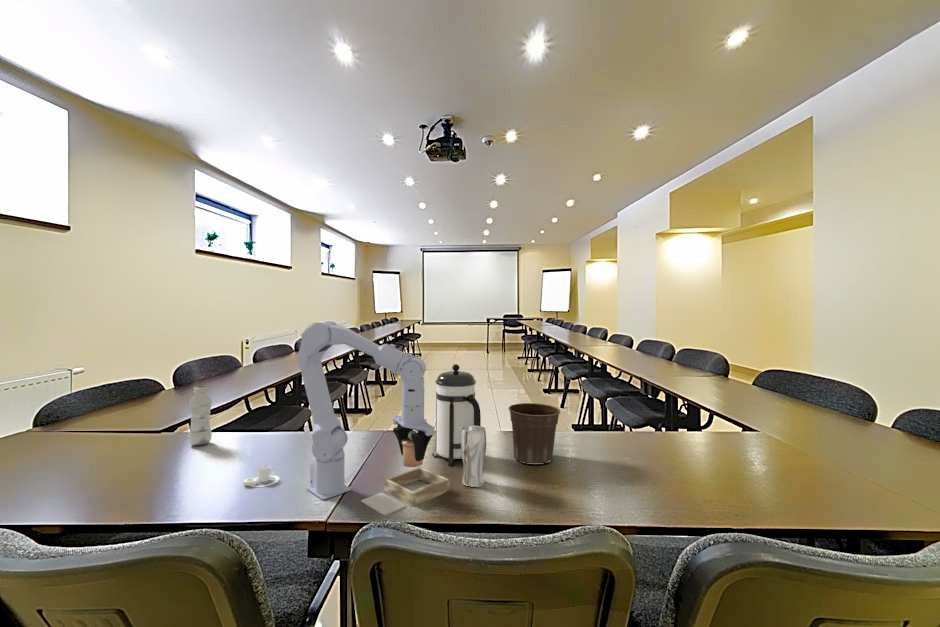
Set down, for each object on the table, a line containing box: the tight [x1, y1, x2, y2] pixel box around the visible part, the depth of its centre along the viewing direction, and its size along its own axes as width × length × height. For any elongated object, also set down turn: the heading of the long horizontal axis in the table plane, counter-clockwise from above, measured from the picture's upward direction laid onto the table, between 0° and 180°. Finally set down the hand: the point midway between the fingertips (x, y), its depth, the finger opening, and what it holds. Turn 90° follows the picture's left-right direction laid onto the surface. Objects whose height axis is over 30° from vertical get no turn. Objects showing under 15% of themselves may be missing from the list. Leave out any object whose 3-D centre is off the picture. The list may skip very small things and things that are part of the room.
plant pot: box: [508, 402, 561, 464], centre depth 133 cm, size 16×16×16 cm
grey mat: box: [360, 492, 406, 517], centre depth 102 cm, size 10×6×1 cm, turn 46°
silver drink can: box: [461, 425, 487, 487], centre depth 114 cm, size 7×7×15 cm
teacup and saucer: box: [242, 465, 281, 488], centre depth 115 cm, size 9×8×4 cm
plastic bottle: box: [188, 385, 213, 446], centre depth 144 cm, size 6×7×20 cm
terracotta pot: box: [402, 430, 424, 468], centre depth 108 cm, size 6×6×8 cm
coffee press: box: [431, 363, 482, 466], centre depth 133 cm, size 17×16×30 cm
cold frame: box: [383, 466, 450, 507], centre depth 109 cm, size 12×12×3 cm
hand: (412, 456), depth 108 cm, fingers closed on terracotta pot, 5 cm apart
